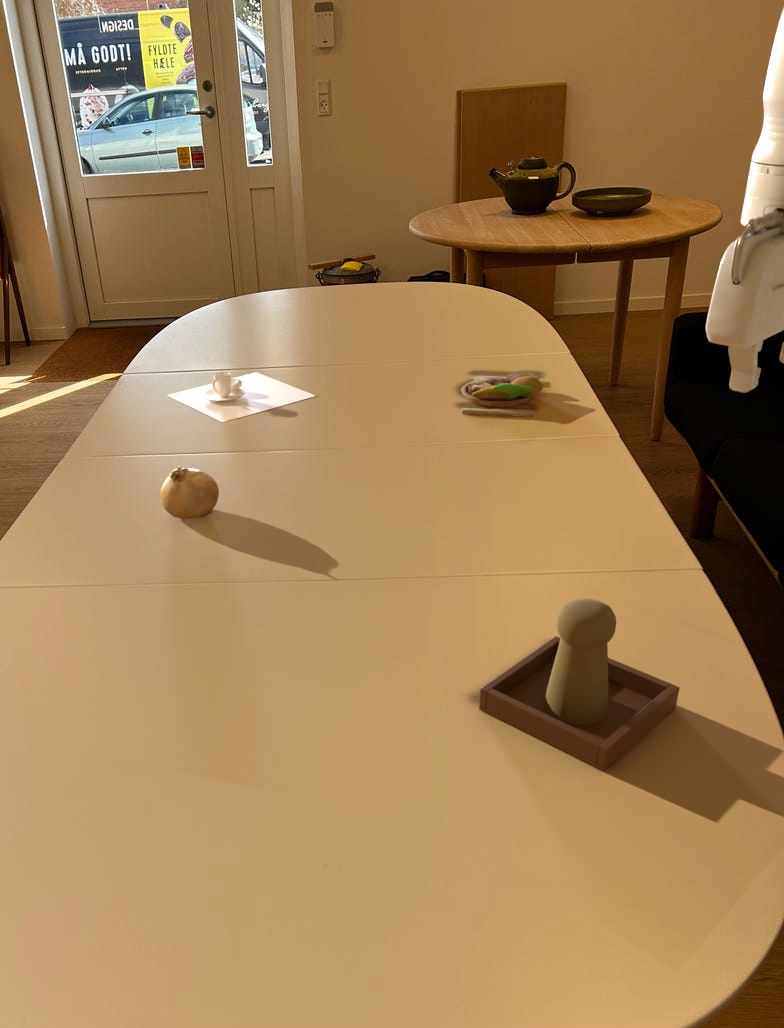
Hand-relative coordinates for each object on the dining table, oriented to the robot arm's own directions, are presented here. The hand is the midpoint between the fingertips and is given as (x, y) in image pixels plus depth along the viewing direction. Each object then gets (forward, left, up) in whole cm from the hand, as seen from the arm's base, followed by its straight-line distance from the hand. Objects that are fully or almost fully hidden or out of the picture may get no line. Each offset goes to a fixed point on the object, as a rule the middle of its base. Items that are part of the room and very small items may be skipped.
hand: (768, 375), depth 83 cm
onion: (+69, +13, -29) cm, 76 cm away
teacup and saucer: (+103, -25, -29) cm, 110 cm away
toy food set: (+65, -53, -29) cm, 89 cm away
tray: (+5, +16, -29) cm, 34 cm away
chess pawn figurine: (+5, +17, -29) cm, 34 cm away
